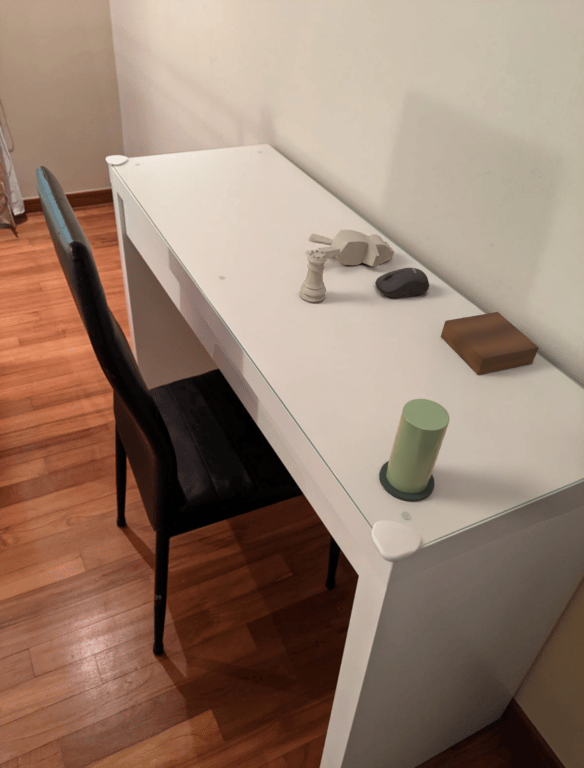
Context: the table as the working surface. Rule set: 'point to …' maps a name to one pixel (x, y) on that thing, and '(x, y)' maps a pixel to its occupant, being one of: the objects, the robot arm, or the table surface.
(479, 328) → the walnut platform
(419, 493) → the coaster
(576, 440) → the table surface
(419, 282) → the computer mouse
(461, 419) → the table surface
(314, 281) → the rook chess piece
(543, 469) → the table surface
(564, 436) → the table surface
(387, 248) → the bunny figurine
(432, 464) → the green round cylinder
